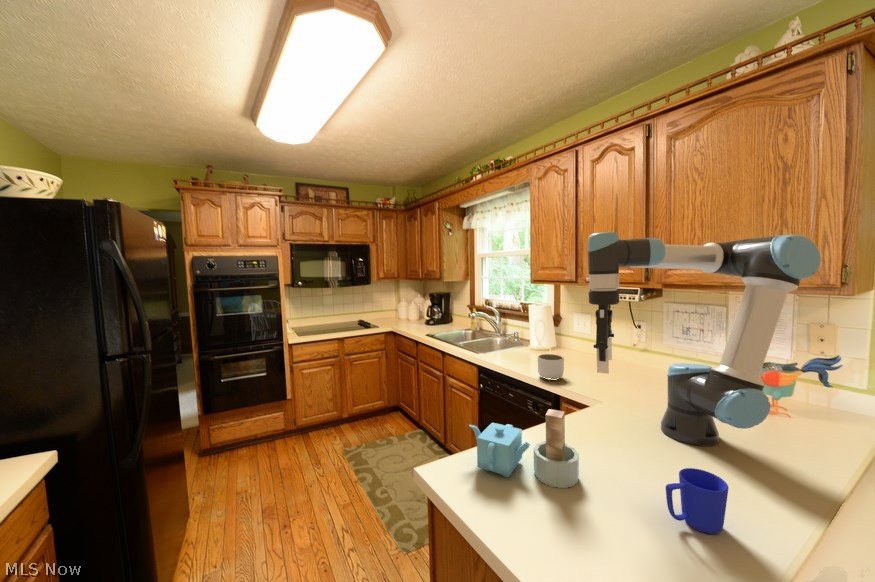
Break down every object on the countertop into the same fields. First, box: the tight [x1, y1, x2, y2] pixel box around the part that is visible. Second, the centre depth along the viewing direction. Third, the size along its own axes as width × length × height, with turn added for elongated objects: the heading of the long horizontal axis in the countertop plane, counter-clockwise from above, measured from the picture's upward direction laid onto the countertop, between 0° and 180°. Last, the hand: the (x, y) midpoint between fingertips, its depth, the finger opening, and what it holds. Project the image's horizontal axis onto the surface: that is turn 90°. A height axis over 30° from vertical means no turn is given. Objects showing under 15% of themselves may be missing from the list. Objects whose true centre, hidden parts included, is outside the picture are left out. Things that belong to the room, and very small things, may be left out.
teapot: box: [468, 422, 531, 478], centre depth 94 cm, size 16×18×11 cm
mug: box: [665, 467, 729, 535], centre depth 71 cm, size 8×12×10 cm
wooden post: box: [545, 408, 566, 461], centre depth 89 cm, size 4×4×16 cm
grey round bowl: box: [533, 440, 580, 489], centre depth 89 cm, size 11×11×6 cm
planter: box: [537, 353, 565, 379], centre depth 168 cm, size 12×12×11 cm
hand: (604, 365), depth 93 cm, fingers open, 13 cm apart
